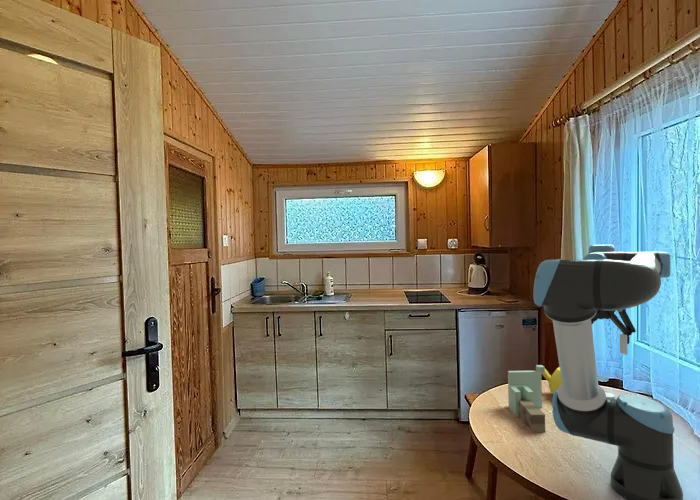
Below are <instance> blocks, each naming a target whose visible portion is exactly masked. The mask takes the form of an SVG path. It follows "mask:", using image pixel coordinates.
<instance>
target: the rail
mask: <svg viewBox="0 0 700 500" xmlns="http://www.w3.org/2000/svg"><path fill="white" fill-rule="evenodd" d="M518 417H519V418H520V420H521V421H522V422H523V423H524V424H525V426H526V428H527V429H528V430H529V431H530V432H531V433H546V413H545V414H544V412H543V411H542V410H541V408H538V407H537V406H536V405H535V404H534V403H533V402H532V401H524V400H523V399H521V401H519V416H518Z"/></svg>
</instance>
